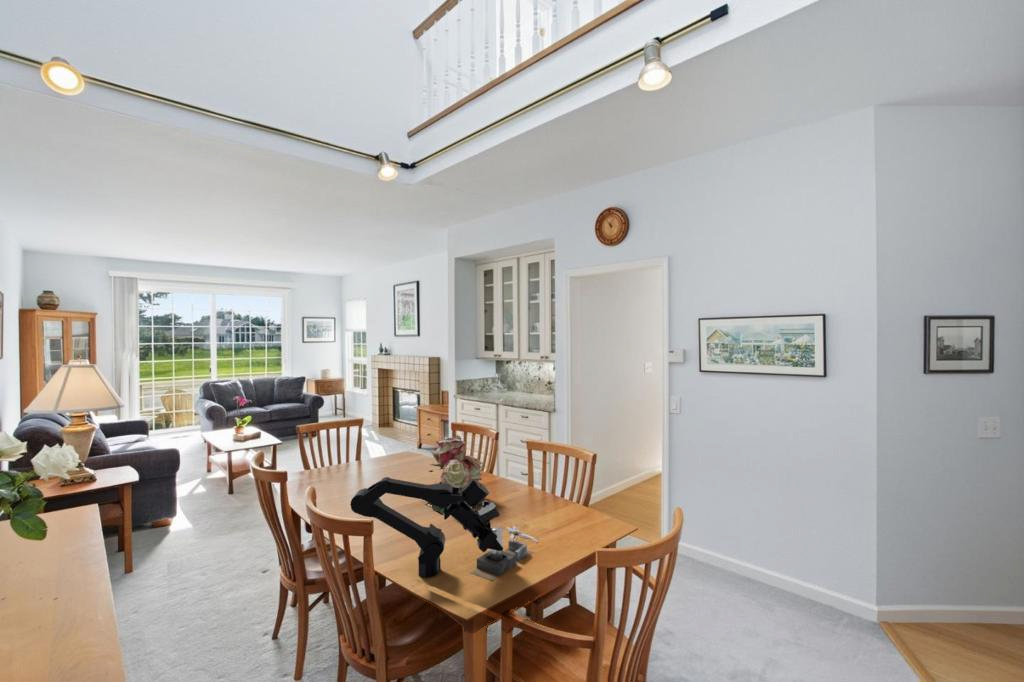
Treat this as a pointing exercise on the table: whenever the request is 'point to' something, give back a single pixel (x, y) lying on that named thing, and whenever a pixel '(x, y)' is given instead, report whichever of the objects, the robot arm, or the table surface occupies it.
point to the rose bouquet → (455, 465)
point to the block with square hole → (510, 559)
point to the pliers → (515, 531)
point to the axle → (495, 554)
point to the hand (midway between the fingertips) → (500, 546)
